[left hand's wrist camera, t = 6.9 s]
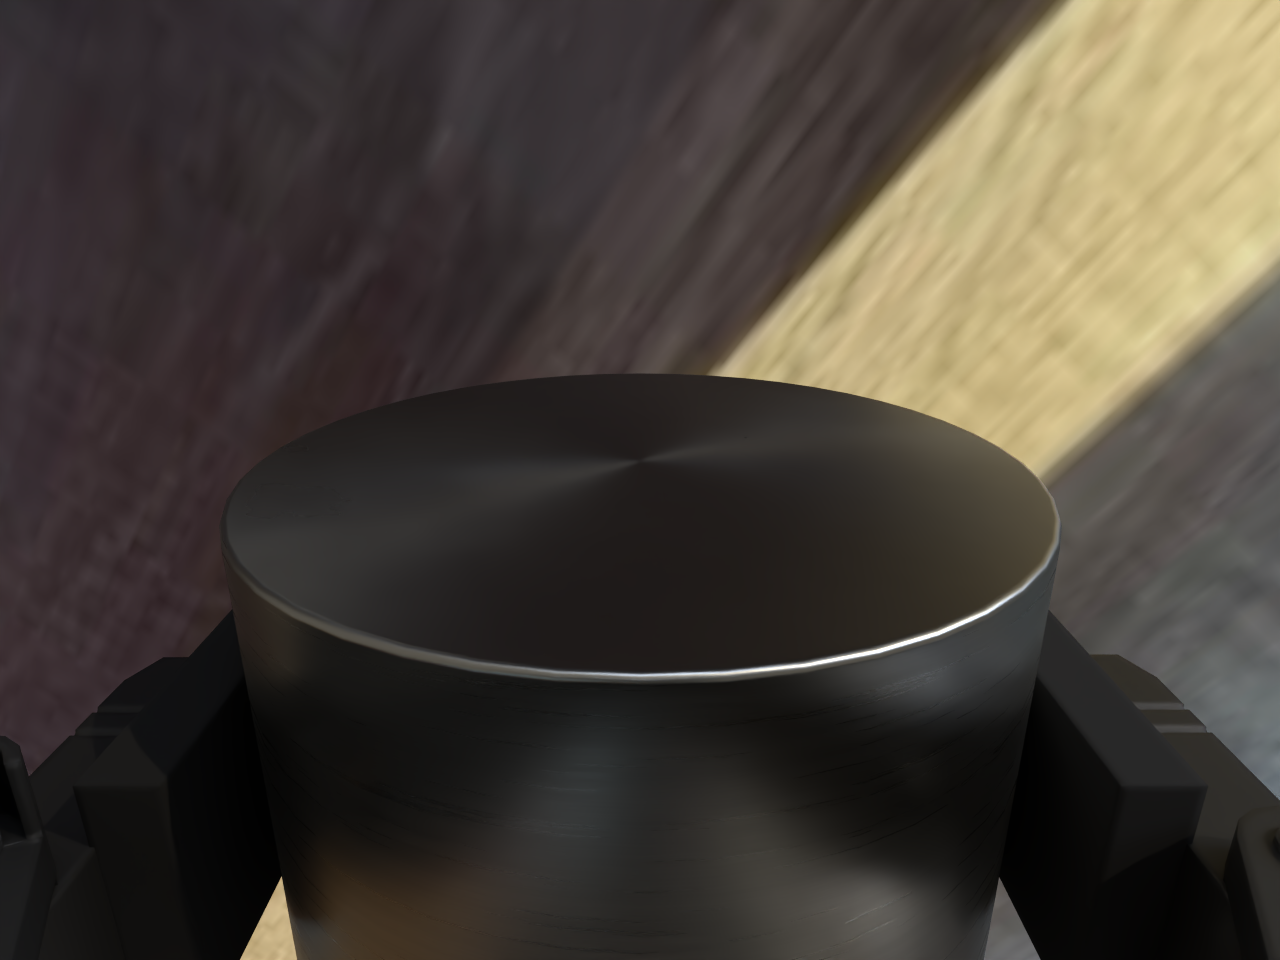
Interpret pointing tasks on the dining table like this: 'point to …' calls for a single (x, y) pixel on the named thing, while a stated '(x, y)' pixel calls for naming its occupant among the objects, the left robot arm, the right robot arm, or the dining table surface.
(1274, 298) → the dining table surface
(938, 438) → the rod
